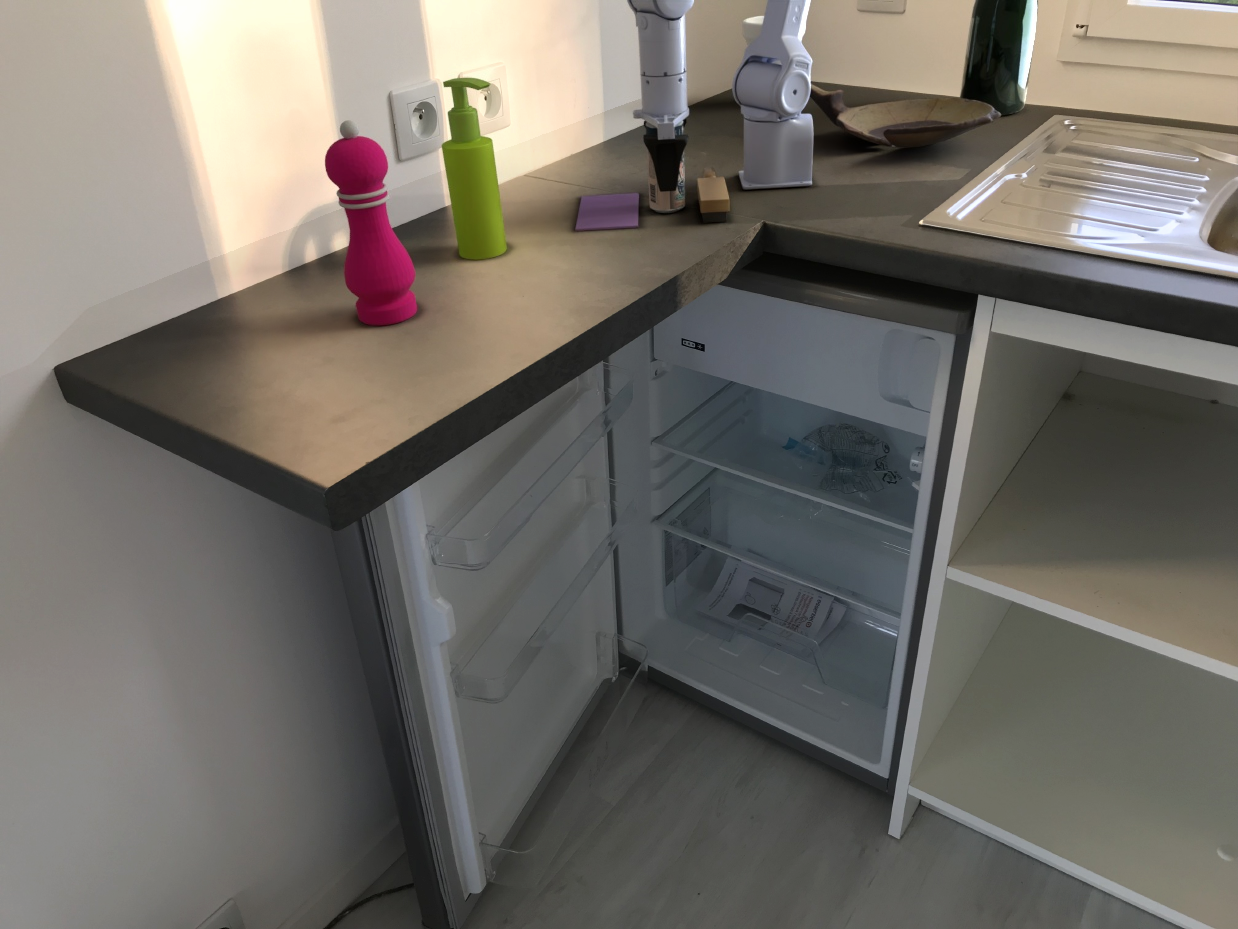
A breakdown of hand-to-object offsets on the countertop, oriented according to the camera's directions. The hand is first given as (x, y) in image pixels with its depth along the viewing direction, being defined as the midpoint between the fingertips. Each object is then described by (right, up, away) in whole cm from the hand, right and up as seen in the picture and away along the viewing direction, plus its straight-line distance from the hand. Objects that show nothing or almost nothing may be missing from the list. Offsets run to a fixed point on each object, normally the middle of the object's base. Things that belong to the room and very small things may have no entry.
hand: (667, 182), depth 123 cm
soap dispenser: (-23, -11, -8) cm, 26 cm away
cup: (+22, +30, +51) cm, 63 cm away
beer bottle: (+57, +23, +36) cm, 71 cm away
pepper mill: (-31, -21, -22) cm, 44 cm away
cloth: (-8, -3, +2) cm, 9 cm away
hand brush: (+6, -2, +2) cm, 7 cm away
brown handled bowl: (+37, +14, +23) cm, 46 cm away
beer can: (0, -3, +2) cm, 4 cm away
